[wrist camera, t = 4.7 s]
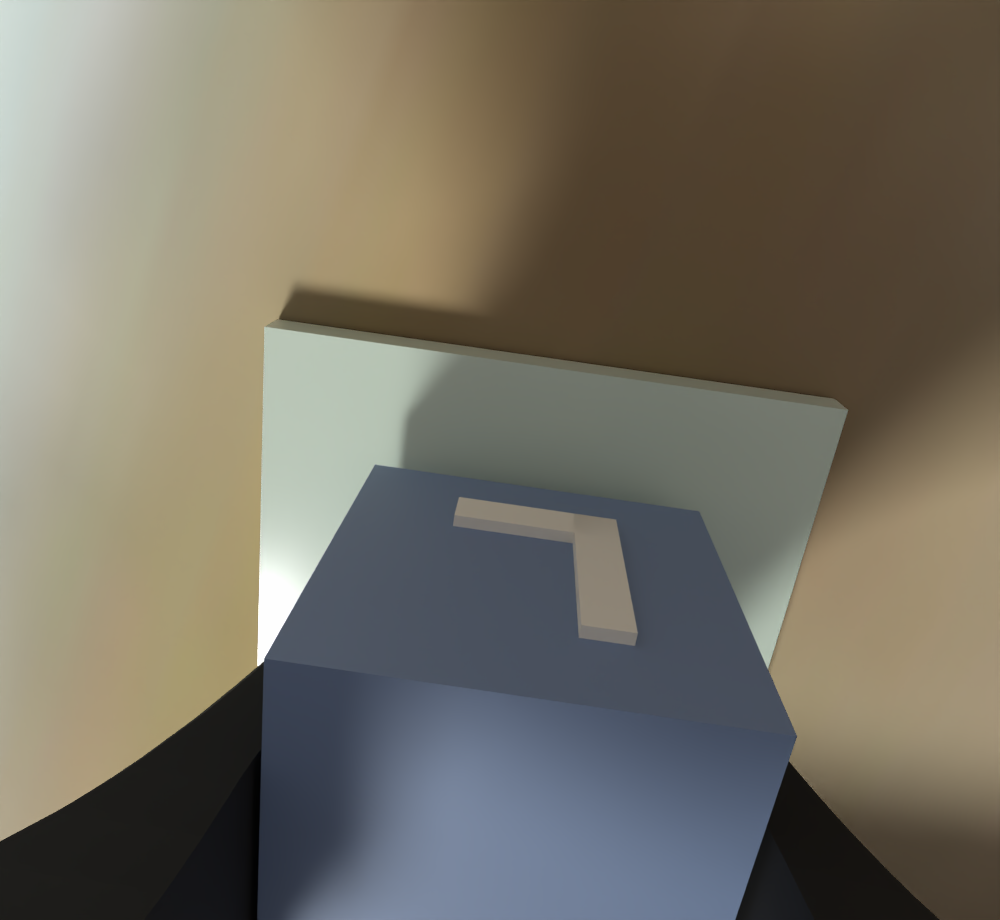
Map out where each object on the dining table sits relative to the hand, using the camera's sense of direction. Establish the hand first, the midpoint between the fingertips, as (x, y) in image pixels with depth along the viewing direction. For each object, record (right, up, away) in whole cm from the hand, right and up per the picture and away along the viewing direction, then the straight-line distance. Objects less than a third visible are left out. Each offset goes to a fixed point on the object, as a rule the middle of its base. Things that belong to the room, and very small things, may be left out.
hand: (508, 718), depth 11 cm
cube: (0, +1, +2) cm, 2 cm away
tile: (0, +1, +3) cm, 3 cm away
